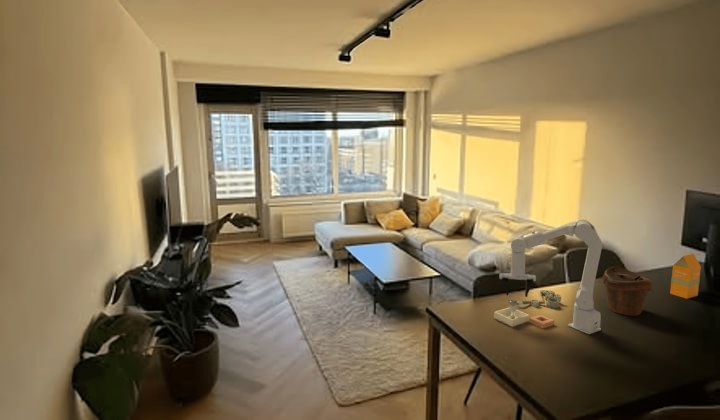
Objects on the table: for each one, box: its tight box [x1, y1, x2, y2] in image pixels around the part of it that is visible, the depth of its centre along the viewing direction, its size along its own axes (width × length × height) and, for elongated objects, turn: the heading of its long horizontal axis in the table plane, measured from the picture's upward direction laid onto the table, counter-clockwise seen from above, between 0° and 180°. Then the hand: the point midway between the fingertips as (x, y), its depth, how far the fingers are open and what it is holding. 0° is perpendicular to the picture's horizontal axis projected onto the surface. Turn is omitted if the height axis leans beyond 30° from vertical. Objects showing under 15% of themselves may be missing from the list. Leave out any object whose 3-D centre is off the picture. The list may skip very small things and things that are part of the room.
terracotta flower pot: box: [601, 266, 655, 316], centre depth 188 cm, size 18×20×18 cm
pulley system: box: [516, 289, 562, 310], centre depth 200 cm, size 27×5×15 cm
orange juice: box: [669, 253, 702, 300], centre depth 205 cm, size 8×9×20 cm
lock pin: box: [508, 299, 518, 319], centre depth 181 cm, size 3×3×8 cm
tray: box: [493, 306, 530, 328], centre depth 182 cm, size 10×10×3 cm
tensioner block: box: [528, 314, 556, 329], centre depth 178 cm, size 7×7×2 cm
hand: (516, 295), depth 184 cm, fingers open, 7 cm apart
